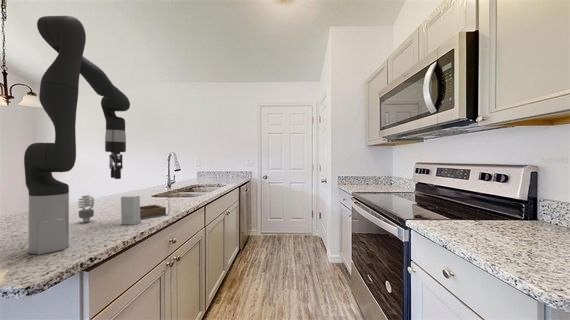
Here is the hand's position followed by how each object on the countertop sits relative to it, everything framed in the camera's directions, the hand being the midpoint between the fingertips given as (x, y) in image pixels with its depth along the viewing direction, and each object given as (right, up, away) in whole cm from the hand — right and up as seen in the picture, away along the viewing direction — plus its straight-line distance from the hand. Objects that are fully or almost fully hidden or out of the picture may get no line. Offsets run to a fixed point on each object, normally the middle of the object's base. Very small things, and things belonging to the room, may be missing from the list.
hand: (115, 178), depth 110 cm
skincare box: (+6, -20, 0) cm, 21 cm away
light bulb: (-14, -20, +2) cm, 25 cm away
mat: (+5, -20, +16) cm, 26 cm away
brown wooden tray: (+6, -20, +17) cm, 26 cm away
